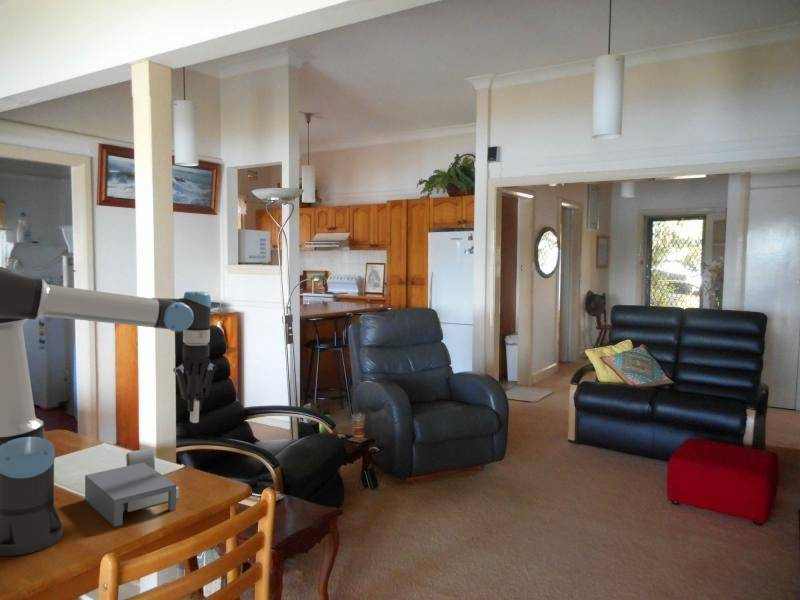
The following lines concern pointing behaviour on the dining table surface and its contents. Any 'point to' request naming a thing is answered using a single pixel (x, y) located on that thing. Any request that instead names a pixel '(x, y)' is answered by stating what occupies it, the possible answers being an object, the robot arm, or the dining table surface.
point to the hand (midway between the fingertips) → (194, 421)
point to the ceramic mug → (141, 457)
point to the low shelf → (125, 489)
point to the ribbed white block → (148, 501)
